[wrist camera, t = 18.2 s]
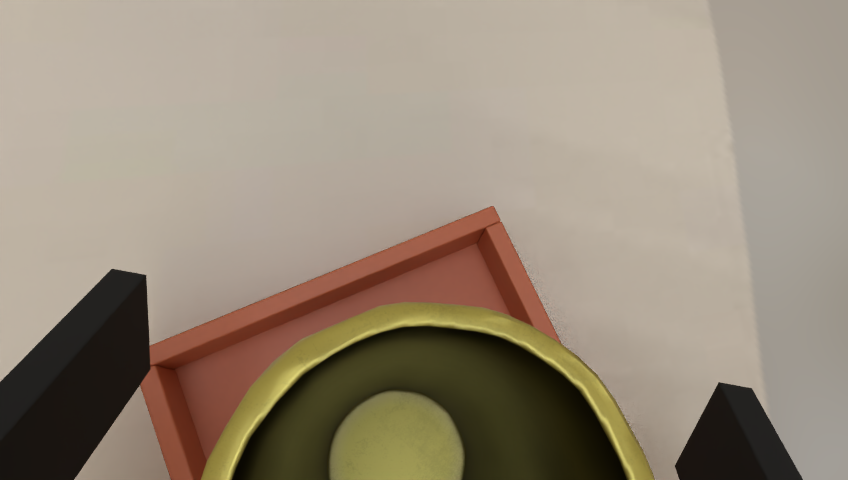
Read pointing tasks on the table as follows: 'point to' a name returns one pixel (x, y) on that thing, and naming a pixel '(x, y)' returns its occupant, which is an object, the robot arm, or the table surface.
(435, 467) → the vase
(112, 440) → the table surface
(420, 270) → the terracotta tray
